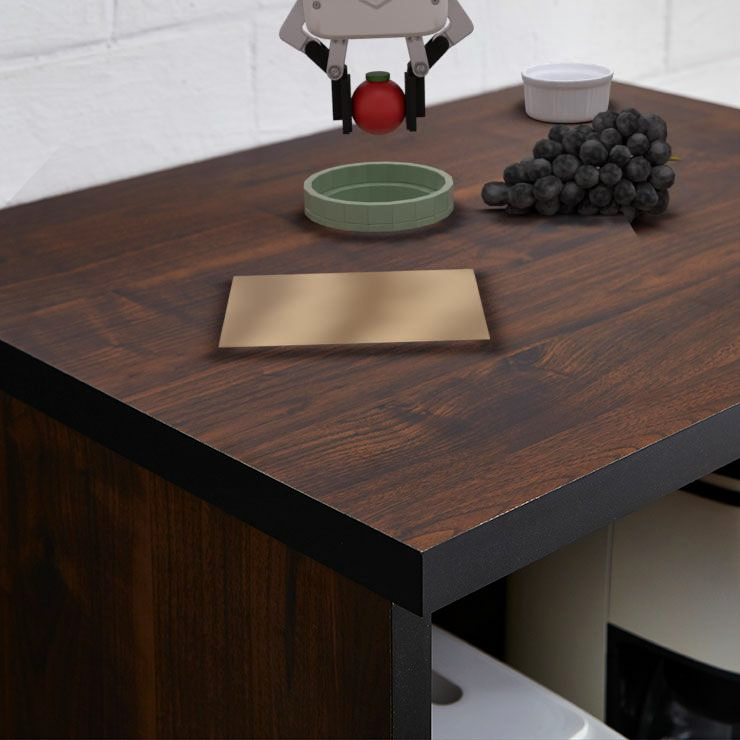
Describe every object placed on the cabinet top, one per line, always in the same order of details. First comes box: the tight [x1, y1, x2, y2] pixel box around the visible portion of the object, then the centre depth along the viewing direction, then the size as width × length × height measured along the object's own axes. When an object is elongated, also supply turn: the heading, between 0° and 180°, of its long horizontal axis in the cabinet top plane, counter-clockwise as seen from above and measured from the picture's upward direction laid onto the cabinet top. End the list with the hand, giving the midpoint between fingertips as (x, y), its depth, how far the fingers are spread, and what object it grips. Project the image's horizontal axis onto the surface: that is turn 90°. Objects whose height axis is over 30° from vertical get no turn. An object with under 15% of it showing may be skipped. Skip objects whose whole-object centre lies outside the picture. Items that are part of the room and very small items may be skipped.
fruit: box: [480, 107, 683, 224], centre depth 104 cm, size 9×8×15 cm
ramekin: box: [520, 61, 615, 124], centre depth 135 cm, size 9×9×4 cm
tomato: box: [351, 70, 406, 136], centre depth 102 cm, size 4×4×4 cm
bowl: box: [303, 161, 455, 233], centre depth 105 cm, size 11×11×4 cm
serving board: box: [218, 268, 491, 349], centre depth 87 cm, size 16×12×2 cm
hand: (379, 125), depth 102 cm, fingers closed on tomato, 4 cm apart
